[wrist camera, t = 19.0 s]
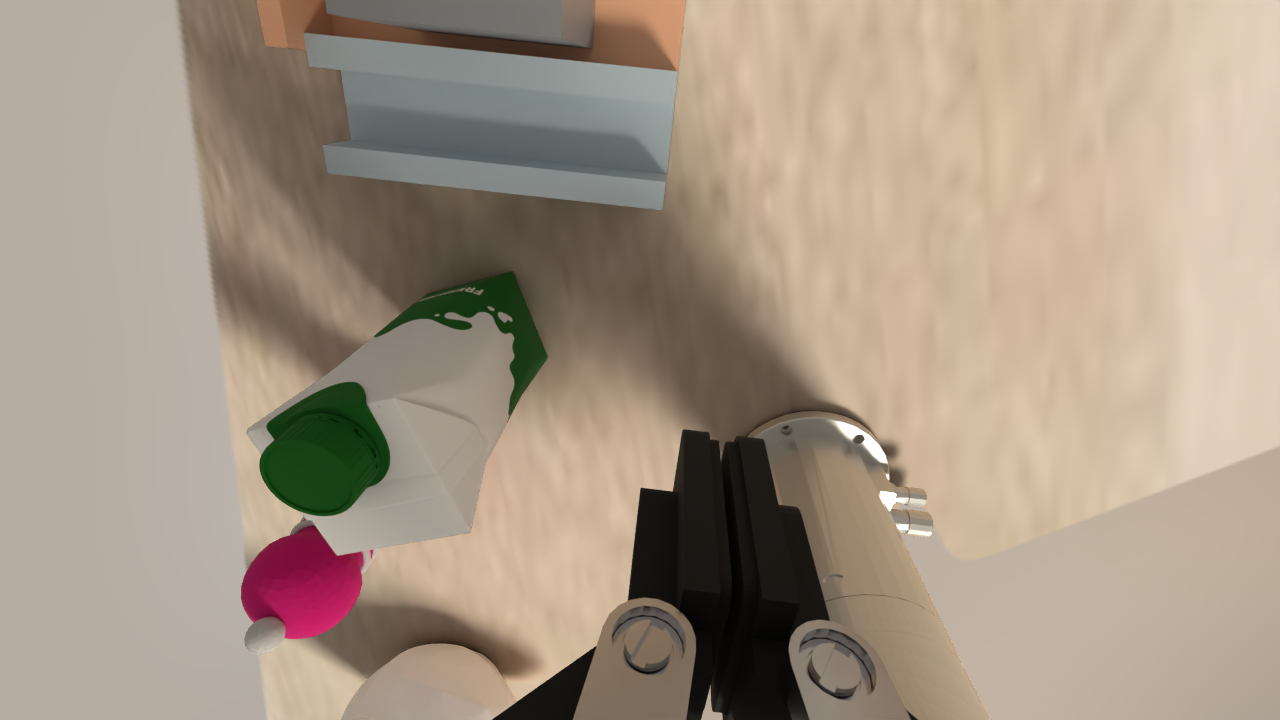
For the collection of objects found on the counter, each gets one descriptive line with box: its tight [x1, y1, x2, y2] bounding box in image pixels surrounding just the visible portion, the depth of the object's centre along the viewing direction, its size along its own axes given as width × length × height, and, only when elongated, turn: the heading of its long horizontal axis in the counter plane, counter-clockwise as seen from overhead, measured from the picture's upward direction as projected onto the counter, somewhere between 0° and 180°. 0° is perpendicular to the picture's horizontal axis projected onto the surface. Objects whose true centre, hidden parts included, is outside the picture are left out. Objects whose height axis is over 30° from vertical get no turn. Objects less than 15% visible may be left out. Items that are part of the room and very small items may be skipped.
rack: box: [256, 0, 686, 210], centre depth 29 cm, size 21×18×6 cm
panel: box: [325, 0, 595, 49], centre depth 26 cm, size 10×2×9 cm, turn 85°
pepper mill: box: [241, 517, 378, 655], centre depth 36 cm, size 7×7×20 cm
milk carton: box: [246, 271, 548, 555], centre depth 32 cm, size 9×9×20 cm
